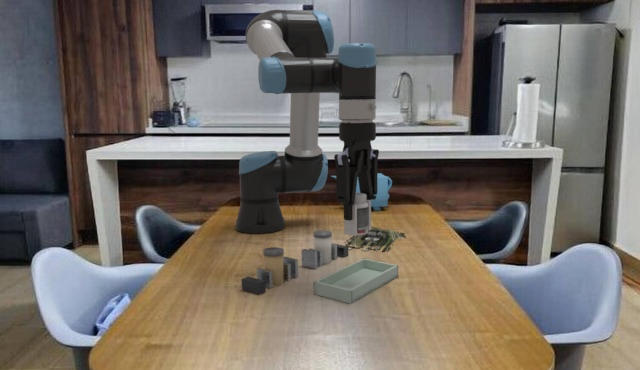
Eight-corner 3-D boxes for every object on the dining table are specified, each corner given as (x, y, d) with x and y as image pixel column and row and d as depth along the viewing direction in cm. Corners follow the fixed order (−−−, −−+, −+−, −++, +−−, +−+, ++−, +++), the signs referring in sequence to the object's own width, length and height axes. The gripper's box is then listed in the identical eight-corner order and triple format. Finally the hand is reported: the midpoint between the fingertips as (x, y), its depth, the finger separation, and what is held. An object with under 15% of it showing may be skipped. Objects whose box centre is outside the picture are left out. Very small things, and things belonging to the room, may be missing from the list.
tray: (313, 293, 111) (313, 281, 110) (363, 269, 126) (363, 258, 125) (350, 303, 105) (350, 291, 105) (398, 276, 120) (398, 265, 120)
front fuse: (259, 283, 117) (258, 251, 116) (273, 277, 121) (272, 246, 120) (275, 287, 115) (274, 254, 113) (288, 281, 118) (288, 249, 117)
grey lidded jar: (310, 262, 131) (309, 233, 130) (321, 257, 135) (320, 229, 134) (324, 265, 129) (324, 236, 128) (335, 260, 132) (335, 232, 131)
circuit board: (404, 256, 137) (404, 242, 137) (335, 253, 140) (335, 239, 140) (406, 231, 161) (407, 219, 161) (347, 229, 165) (347, 218, 164)
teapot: (388, 204, 198) (388, 167, 196) (395, 210, 187) (395, 171, 185) (329, 206, 196) (328, 169, 194) (333, 213, 185) (332, 173, 183)
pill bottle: (369, 230, 115) (369, 192, 114) (366, 236, 111) (367, 196, 109) (347, 229, 116) (347, 191, 115) (344, 235, 112) (344, 195, 110)
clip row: (241, 289, 113) (241, 271, 113) (332, 252, 139) (332, 237, 139) (259, 294, 110) (258, 276, 110) (348, 255, 136) (348, 240, 136)
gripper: (348, 123, 100) (349, 244, 104) (394, 119, 114) (394, 225, 118) (316, 123, 105) (318, 238, 108) (365, 119, 119) (365, 221, 122)
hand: (357, 231), depth 113 cm, fingers closed on pill bottle, 5 cm apart
